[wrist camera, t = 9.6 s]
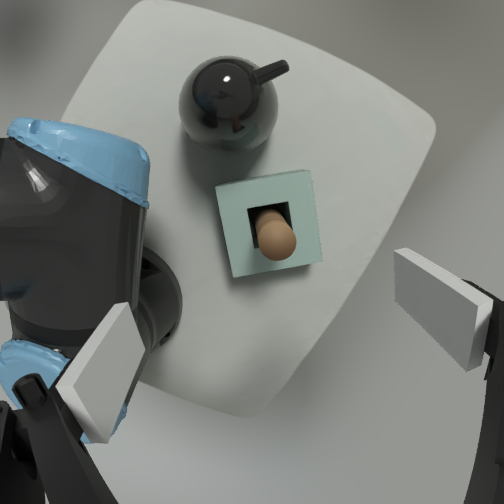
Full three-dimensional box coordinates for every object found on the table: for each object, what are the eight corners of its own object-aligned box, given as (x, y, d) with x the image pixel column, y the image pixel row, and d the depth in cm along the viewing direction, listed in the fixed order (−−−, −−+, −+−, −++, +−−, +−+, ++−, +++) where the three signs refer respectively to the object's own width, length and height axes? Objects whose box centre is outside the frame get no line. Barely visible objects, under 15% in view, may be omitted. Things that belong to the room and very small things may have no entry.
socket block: (234, 263, 40) (233, 277, 35) (218, 184, 38) (215, 187, 33) (313, 249, 40) (322, 261, 35) (301, 169, 37) (310, 170, 33)
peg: (252, 207, 38) (255, 227, 27) (278, 203, 38) (293, 221, 27) (256, 233, 39) (262, 263, 28) (282, 229, 39) (298, 257, 28)
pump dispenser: (288, 136, 36) (318, 120, 22) (207, 170, 37) (184, 174, 22) (255, 62, 34) (263, 6, 19) (175, 95, 34) (136, 57, 20)
